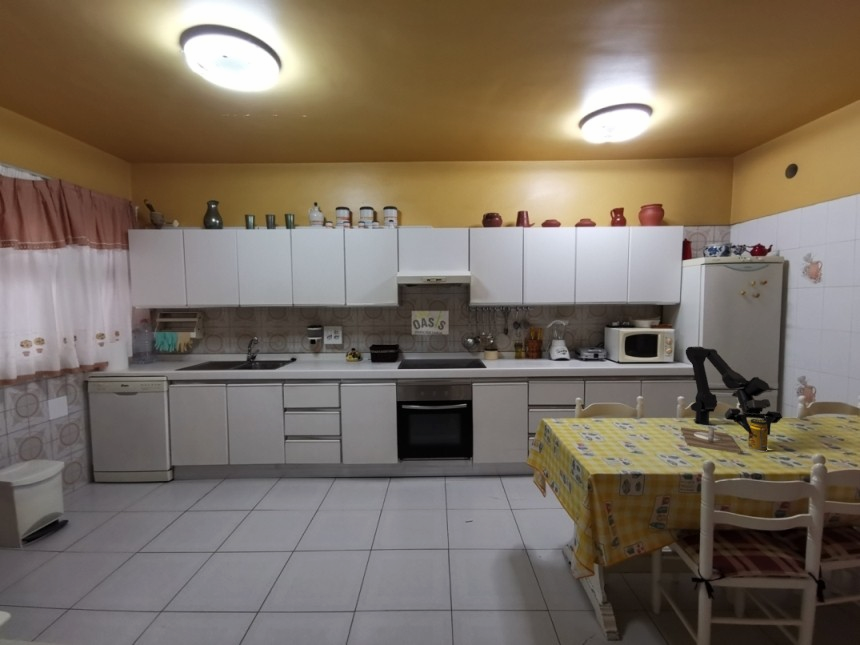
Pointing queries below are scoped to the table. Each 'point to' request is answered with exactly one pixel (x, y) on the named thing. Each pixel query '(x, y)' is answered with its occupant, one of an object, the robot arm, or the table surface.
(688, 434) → the locating plate
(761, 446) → the condiment
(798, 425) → the table surface
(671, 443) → the table surface
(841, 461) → the table surface
